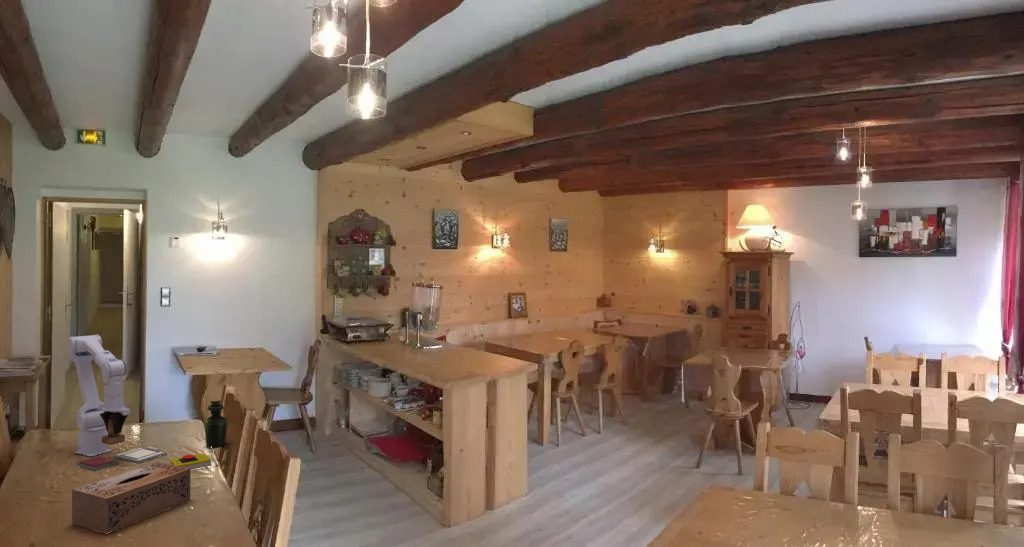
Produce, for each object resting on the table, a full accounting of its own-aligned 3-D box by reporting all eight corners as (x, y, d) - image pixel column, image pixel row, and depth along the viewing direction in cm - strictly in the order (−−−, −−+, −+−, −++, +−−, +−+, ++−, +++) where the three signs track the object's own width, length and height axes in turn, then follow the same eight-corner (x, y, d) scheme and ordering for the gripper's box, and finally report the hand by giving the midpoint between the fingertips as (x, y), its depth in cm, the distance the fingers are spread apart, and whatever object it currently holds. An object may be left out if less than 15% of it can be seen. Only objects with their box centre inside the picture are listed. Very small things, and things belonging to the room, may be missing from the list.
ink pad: (76, 466, 218) (76, 462, 218) (99, 459, 226) (99, 455, 226) (94, 470, 214) (94, 466, 214) (117, 463, 222) (117, 459, 222)
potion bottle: (202, 449, 239) (202, 402, 238) (206, 443, 247) (206, 397, 246) (225, 448, 241) (225, 401, 240) (228, 442, 249) (228, 397, 248)
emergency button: (164, 456, 219) (211, 448, 229) (164, 468, 219) (211, 460, 229) (170, 463, 212) (218, 454, 222) (170, 476, 212) (218, 467, 222)
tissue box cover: (157, 493, 197) (157, 461, 197) (190, 501, 191) (190, 468, 191) (72, 525, 173) (71, 489, 173) (106, 535, 168) (106, 498, 167)
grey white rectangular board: (112, 457, 228) (112, 453, 228) (141, 449, 238) (141, 444, 238) (138, 463, 222) (138, 459, 222) (166, 454, 232) (166, 450, 232)
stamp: (101, 442, 222) (101, 419, 222) (115, 439, 227) (115, 416, 226) (111, 444, 220) (111, 421, 220) (124, 441, 225) (125, 418, 225)
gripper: (89, 394, 223) (90, 432, 223) (115, 399, 216) (116, 438, 217) (109, 390, 229) (109, 427, 229) (135, 395, 223) (135, 433, 223)
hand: (114, 432), depth 224 cm, fingers closed on stamp, 3 cm apart
